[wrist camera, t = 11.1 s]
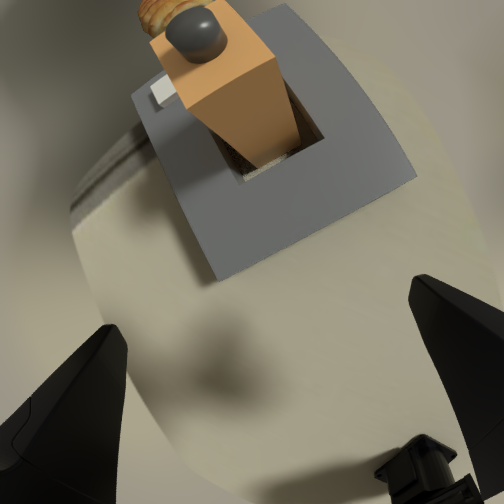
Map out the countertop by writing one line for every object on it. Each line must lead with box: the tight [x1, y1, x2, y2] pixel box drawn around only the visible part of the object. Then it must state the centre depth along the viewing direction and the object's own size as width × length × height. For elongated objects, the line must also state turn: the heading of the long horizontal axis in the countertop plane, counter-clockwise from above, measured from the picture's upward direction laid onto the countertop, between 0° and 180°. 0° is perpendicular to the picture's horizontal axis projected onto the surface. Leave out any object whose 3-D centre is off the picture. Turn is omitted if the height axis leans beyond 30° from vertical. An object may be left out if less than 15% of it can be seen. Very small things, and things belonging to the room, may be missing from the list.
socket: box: [131, 3, 417, 282], centre depth 18 cm, size 16×14×4 cm
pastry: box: [138, 0, 212, 38], centre depth 19 cm, size 9×7×4 cm
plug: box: [150, 0, 301, 169], centre depth 14 cm, size 4×4×13 cm
